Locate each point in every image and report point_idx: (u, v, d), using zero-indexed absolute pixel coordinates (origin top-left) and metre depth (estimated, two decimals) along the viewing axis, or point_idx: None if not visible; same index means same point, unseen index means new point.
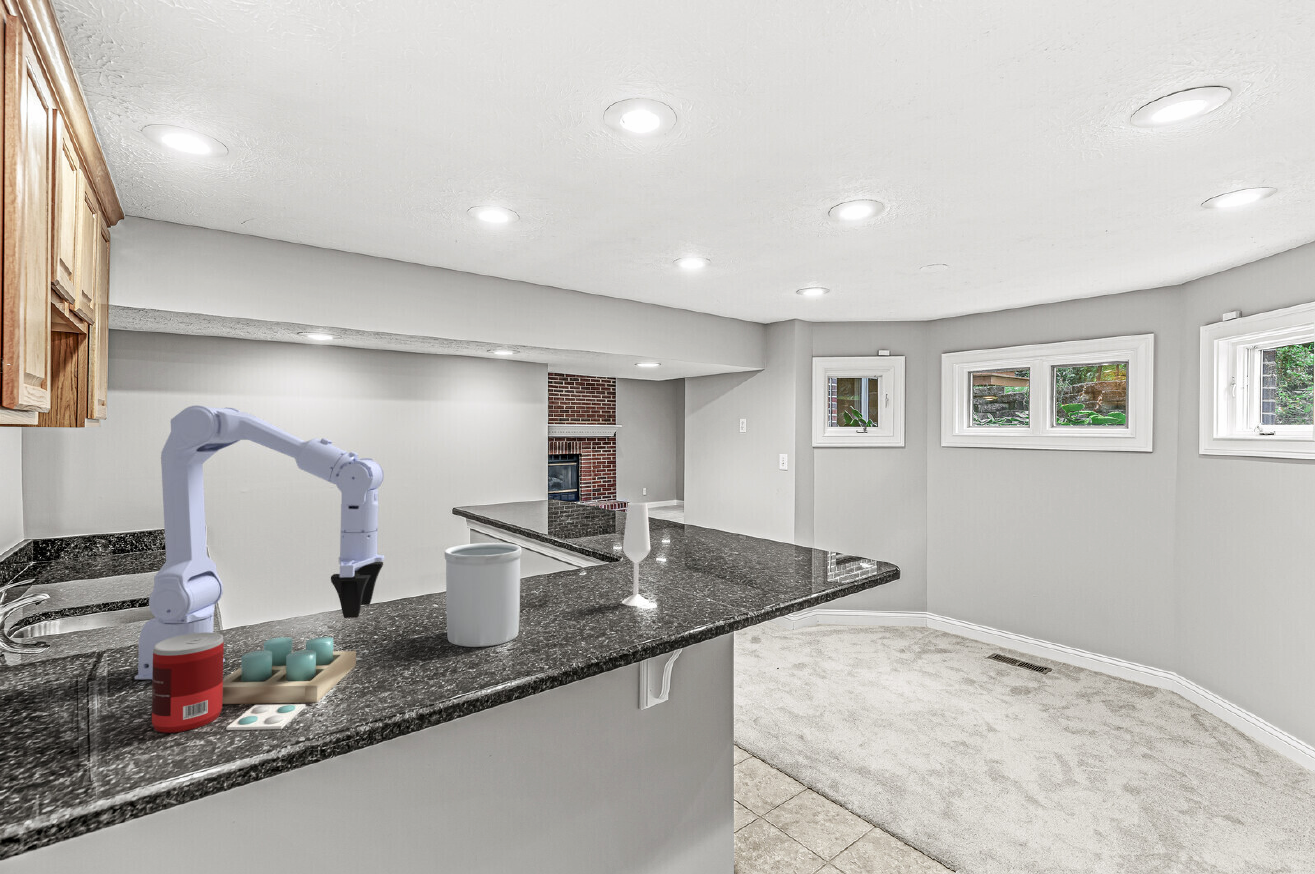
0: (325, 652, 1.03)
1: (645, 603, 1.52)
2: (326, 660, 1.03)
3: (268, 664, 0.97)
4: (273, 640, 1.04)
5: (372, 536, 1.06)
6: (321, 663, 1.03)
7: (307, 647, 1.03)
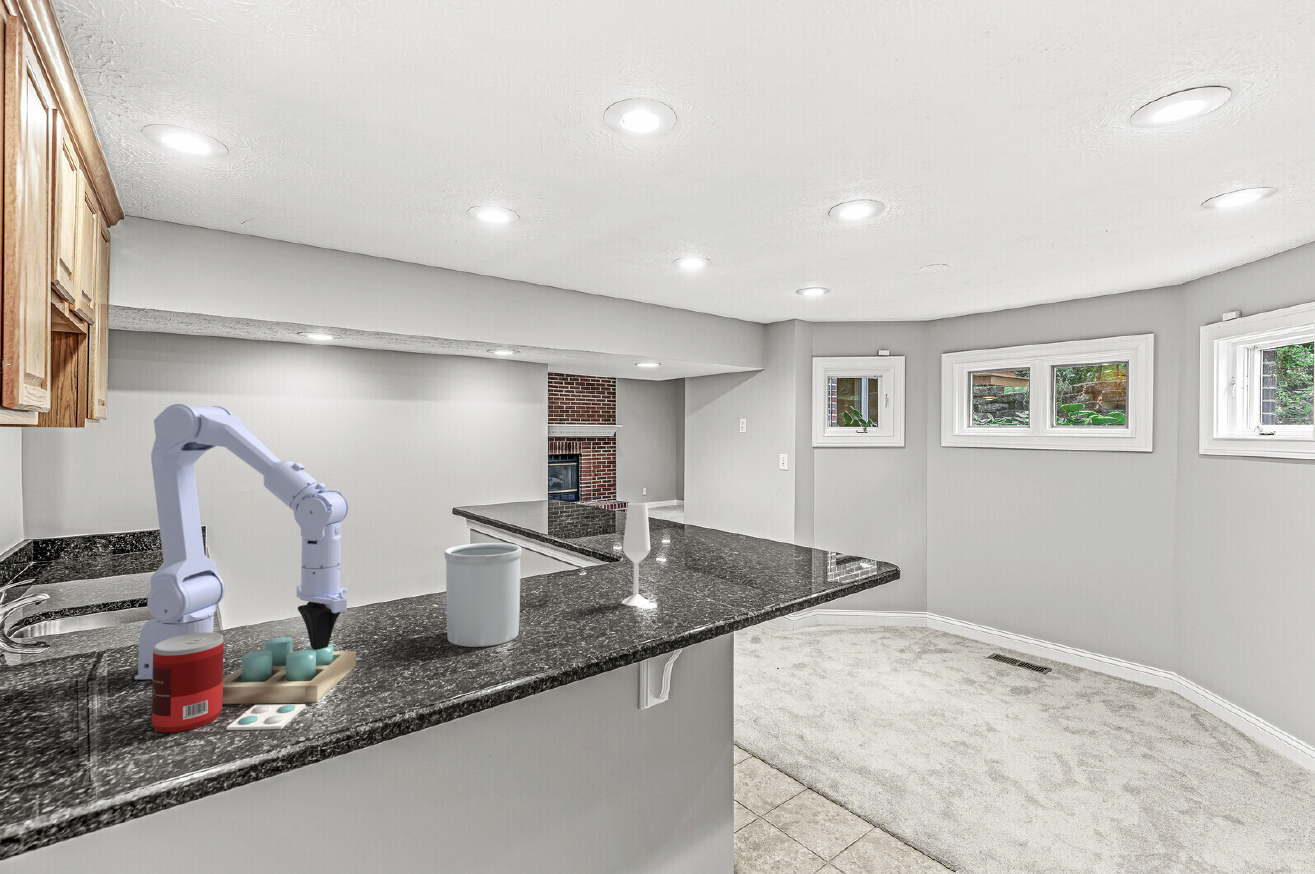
0: (325, 659, 1.03)
1: (645, 603, 1.52)
2: None
3: (268, 664, 0.97)
4: (273, 640, 1.04)
5: (340, 569, 1.05)
6: None
7: None
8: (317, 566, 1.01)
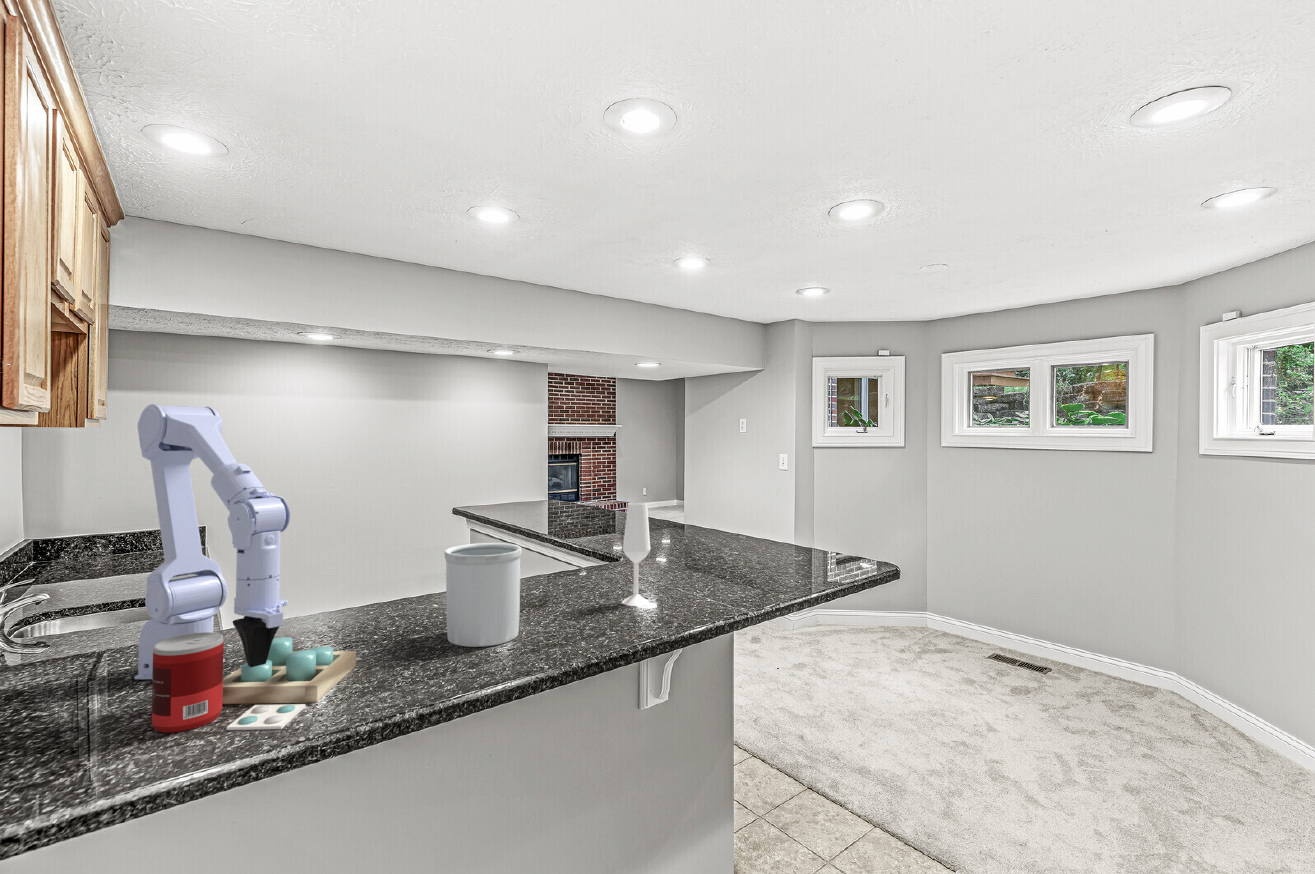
0: (325, 662, 1.03)
1: (645, 603, 1.52)
2: None
3: (268, 674, 0.97)
4: (273, 640, 1.04)
5: (279, 580, 0.98)
6: None
7: None
8: (244, 577, 0.94)
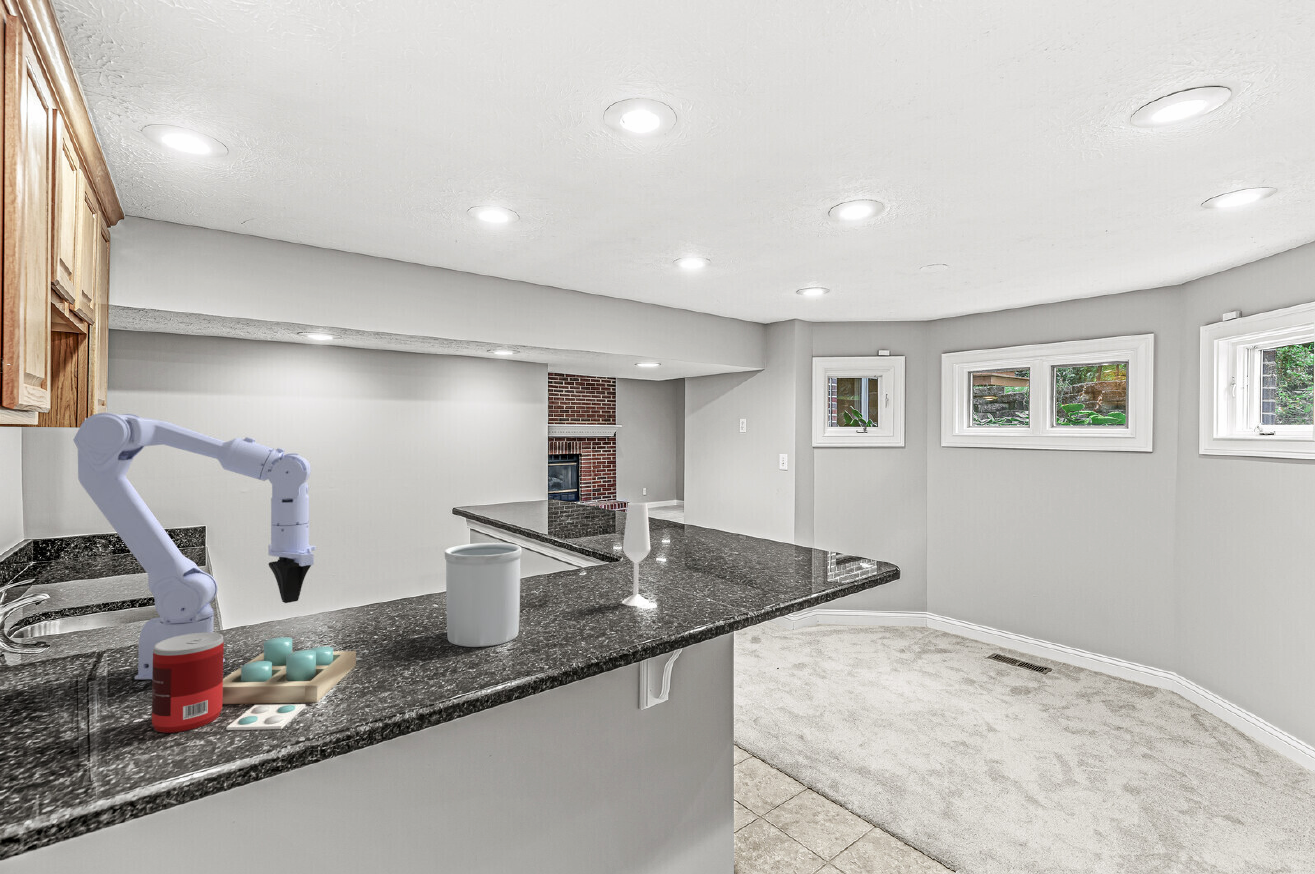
0: (325, 662, 1.03)
1: (645, 603, 1.52)
2: None
3: (268, 675, 0.97)
4: (273, 640, 1.04)
5: (308, 527, 1.11)
6: None
7: None
8: (293, 523, 1.08)
